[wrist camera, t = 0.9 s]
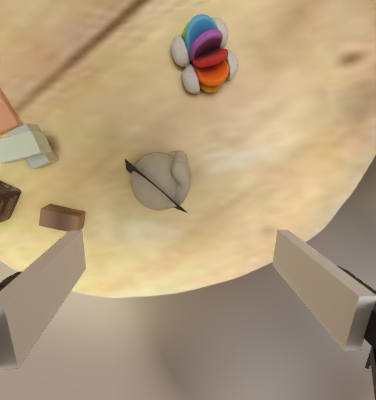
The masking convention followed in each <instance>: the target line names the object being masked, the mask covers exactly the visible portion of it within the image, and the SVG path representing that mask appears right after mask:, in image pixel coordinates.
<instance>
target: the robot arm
mask: <svg viewBox="0 0 376 400" xmlns="http://www.w3.org/2000/svg"><path fill="white" fill-rule="evenodd" d="M272 265H273V266H274V267H275V268H276V270H277V271H278V272H279V273H280V275H281V276H282V277H283V278H284V279H285V281H286V282H287V283H288V284H289V286H290V287H291V288H292V289H293V290H294V292H295V293H296V294H297V295H298V296H299V297H300V299H301V300H302V301H303V302H304V303H305V305H306V306H307V307H308V308H309V309H310V311H311V312H312V313H313V314H314V316H315V317H316V318H317V319H318V320H319V321H320V322H321V324H322V325H323V326H324V327H325V329H326V330H327V331H328V332H329V333H330V335H331V336H332V337H333V338H334V339H335V341H336V342H337V343H338V344H339V346H340V347H341V348H342V349H343V350H344V351H352V350H361V347H362V344H363V340H364V339H365V340H366V341H367V342H368V343H369V344H370V345H371V346H372V347H371V350H370V353H369V357H368V359H367V363H366V366H365V368H367V369H369V366H370V365H371V368H372V376H373V385H374V393H375V400H376V291H375V290H373V289H372V288H371V287H369V286H368V285H366V284H365V283H363V282H362V281H361V280H360V279H358V278H356V277H355V276H354V275H353V274H351V273H350V272H349V271H347V270H345V269H343V268H341V267H339V266H337V265H335V264H333V263H332V262H331V261H329V260H328V259H327V258H325V257H324V256H323V255H321V254H320V253H319V252H317V251H316V250H315V249H313V248H312V247H310V246H309V245H308V244H306V243H305V242H304V241H302V240H301V239H300V238H298V237H297V236H296V235H294V234H293V233H292V232H290V231H289V230H278V231H277V238H276V244H275V251H274V258H273V264H272ZM85 269H86V263H85V254H84V245H83V235H82V231H69V232H67V233H66V234H65V235H64V236H63V237H62V238H61V239H59V240H58V241H57V242H56V243H55V244H54V245H53V246H51V247H50V248H49V249H48V250H47V251H46V252H45V253H43V254H42V255H41V256H40V257H39V258H38V259H37V260H35V261H34V262H33V263H32V264H31V265H30V266H29V267H27V268H26V269H25V270H24V271H23V272H17V273H15V274H13V275H11V276H9V277H7V278H6V279H5V280H3V281H2V282H1V283H0V370H10V369H19V368H20V366H21V365H22V363H23V362H24V360H25V359H26V357H27V356H28V354H29V353H30V351H31V350H32V348H33V347H34V345H35V344H36V342H37V341H38V339H39V338H40V336H41V335H42V333H43V332H44V330H45V329H46V327H47V326H48V324H49V323H50V321H51V320H52V318H53V317H54V315H55V314H56V312H57V311H58V309H59V308H60V306H61V305H62V303H63V302H64V300H65V299H66V297H67V296H68V294H69V293H70V291H71V290H72V288H73V287H74V286H75V284H76V283H77V281H78V280H79V278H80V277H81V275H82V274H83V272H84V271H85Z"/></svg>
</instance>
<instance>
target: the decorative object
mask: <svg viewBox="0 0 376 400" xmlns="http://www.w3.org/2000/svg"><path fill="white" fill-rule="evenodd" d="M125 162H126V169H127V170H128V171H129V172H130V173H131V174H132V176H131V185H132V189H133V192H134V194H135V196H136V198H137V199H138V201H139V202H140V203H141V204H143V205H144V206H146V207H148V208H149V209H152V210H165V209H169V208H171V207H173V208H176V209H179V210H181V211H184V212H186V211H185V210H184V209H183V208H182V207H180V206H179V205H180V204H181V203H182V202H183V201H184V199H185V197H186V195H187V193H188V191H189V187H190V170H189V165H188V160H187V156H186V154H185V153H184V152H183V151H177V152H171V153H170V154H169V155H167V154H164V153H151V154H148V155H146V156H144V157H142V158H141V159H140V160H139V161H138V162H137V163H136V165H135V167H134V166H133V165H132V164H131V163H129V162H128V161H127V160H126V159H125ZM186 213H187V212H186Z"/></svg>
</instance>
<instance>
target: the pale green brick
mask: <svg viewBox="0 0 376 400" xmlns="http://www.w3.org/2000/svg"><path fill="white" fill-rule="evenodd" d="M50 152H52V150H51V147H50V145H49V143H48V140H47V138H46V136H45V133H44V132H39V131H28V132H25V133H21V134H17V135H14V136H10V137H6V138H3V139H0V164H4V163H12V162H17V161H21V160H24V159H28V158H32V157H35V156H39V155H43V154H46V153H50Z"/></svg>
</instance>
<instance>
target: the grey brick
mask: <svg viewBox="0 0 376 400" xmlns="http://www.w3.org/2000/svg"><path fill="white" fill-rule="evenodd" d="M28 131H39V132H41V131H40V129H39V127H38V126H37V125H32V124H24V125H22V126H20V127H17V128H15V129H13V130H11V131H9V132H8V134H9V135H10V136H14V135H17V134H21V133H25V132H28ZM51 150H52V148H51ZM25 160H26V161H27V163H28V164H29V166H30V167H31V169H37V168H42V167H45V166H47V165H49V164H51V163H53V162H55V161H57V160H58V158H57V157H56V155H55V153H54V152H53V150H52V152H50V153H46V154H43V155H39V156H35V157H32V158H28V159H25Z"/></svg>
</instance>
